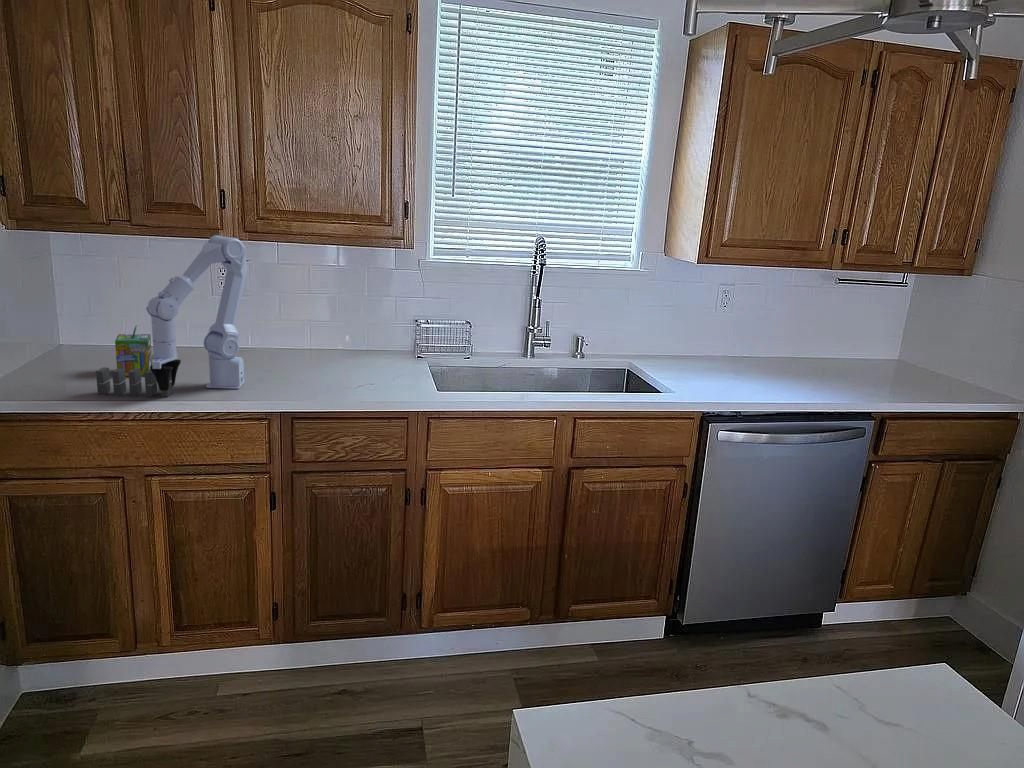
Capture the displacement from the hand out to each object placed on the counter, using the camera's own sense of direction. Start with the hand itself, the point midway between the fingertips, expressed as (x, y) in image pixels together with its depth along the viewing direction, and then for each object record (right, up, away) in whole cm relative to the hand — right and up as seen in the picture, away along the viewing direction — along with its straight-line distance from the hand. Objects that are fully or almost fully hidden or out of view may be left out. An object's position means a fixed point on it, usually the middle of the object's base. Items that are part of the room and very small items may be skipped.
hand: (167, 387), depth 204 cm
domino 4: (-4, -2, 0) cm, 5 cm away
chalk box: (-20, +4, +20) cm, 29 cm away
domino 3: (-8, -2, -1) cm, 9 cm away
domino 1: (-17, -2, -2) cm, 17 cm away
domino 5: (0, -2, 0) cm, 2 cm away
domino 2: (-13, -2, -1) cm, 13 cm away
